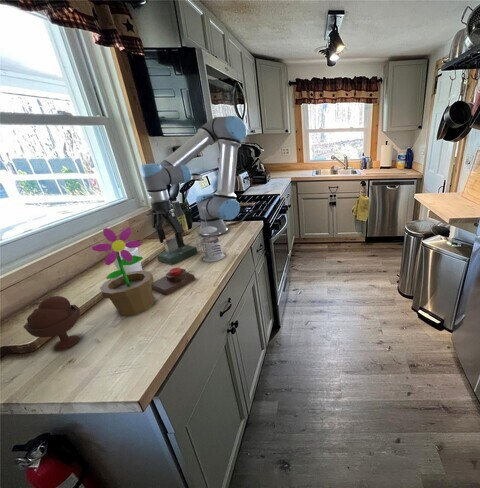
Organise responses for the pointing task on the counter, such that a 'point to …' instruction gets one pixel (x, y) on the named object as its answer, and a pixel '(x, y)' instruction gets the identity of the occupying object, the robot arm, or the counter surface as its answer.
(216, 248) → the french press
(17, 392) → the counter surface
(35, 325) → the ice cream bowl
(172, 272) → the red button
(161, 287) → the button block
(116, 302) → the flowerpot
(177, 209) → the sauce bottle
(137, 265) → the foam cup
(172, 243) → the gray upright block
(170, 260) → the panel
